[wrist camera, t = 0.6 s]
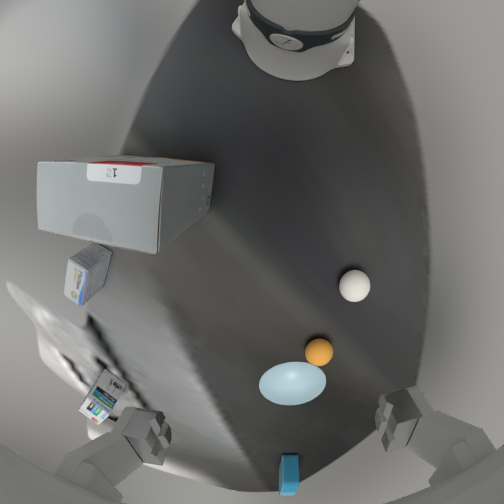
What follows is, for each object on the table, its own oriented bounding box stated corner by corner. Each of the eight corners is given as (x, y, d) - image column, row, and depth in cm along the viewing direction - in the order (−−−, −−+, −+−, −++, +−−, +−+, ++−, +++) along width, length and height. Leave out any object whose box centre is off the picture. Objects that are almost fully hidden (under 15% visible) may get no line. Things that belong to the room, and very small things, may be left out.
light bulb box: (105, 367, 55) (85, 397, 45) (127, 384, 56) (110, 414, 46) (94, 383, 58) (76, 409, 48) (113, 398, 59) (98, 425, 49)
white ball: (343, 261, 42) (352, 274, 37) (369, 270, 42) (379, 283, 37) (331, 288, 44) (338, 303, 39) (356, 295, 44) (365, 310, 39)
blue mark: (272, 354, 49) (272, 355, 49) (337, 368, 50) (337, 369, 49) (250, 397, 54) (250, 398, 53) (308, 408, 54) (308, 409, 54)
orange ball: (310, 330, 47) (314, 347, 42) (334, 336, 47) (340, 353, 42) (299, 350, 48) (302, 368, 44) (323, 355, 48) (327, 373, 44)
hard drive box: (216, 162, 38) (167, 167, 19) (209, 212, 41) (160, 260, 22) (124, 153, 38) (35, 162, 19) (120, 199, 41) (36, 233, 22)
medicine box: (95, 240, 43) (67, 257, 35) (113, 252, 44) (87, 271, 36) (87, 274, 46) (62, 294, 38) (105, 285, 47) (81, 308, 38)
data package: (293, 467, 66) (293, 496, 55) (279, 467, 67) (278, 496, 55) (298, 452, 62) (299, 485, 51) (282, 452, 62) (282, 485, 51)
